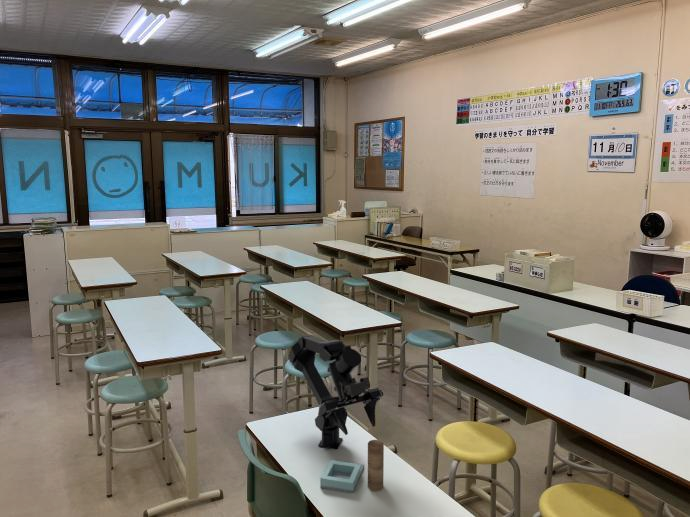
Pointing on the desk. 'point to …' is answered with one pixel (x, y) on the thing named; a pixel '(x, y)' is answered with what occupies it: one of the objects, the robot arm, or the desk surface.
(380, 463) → the dowel peg
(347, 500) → the desk surface
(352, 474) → the light blue hollow frame
